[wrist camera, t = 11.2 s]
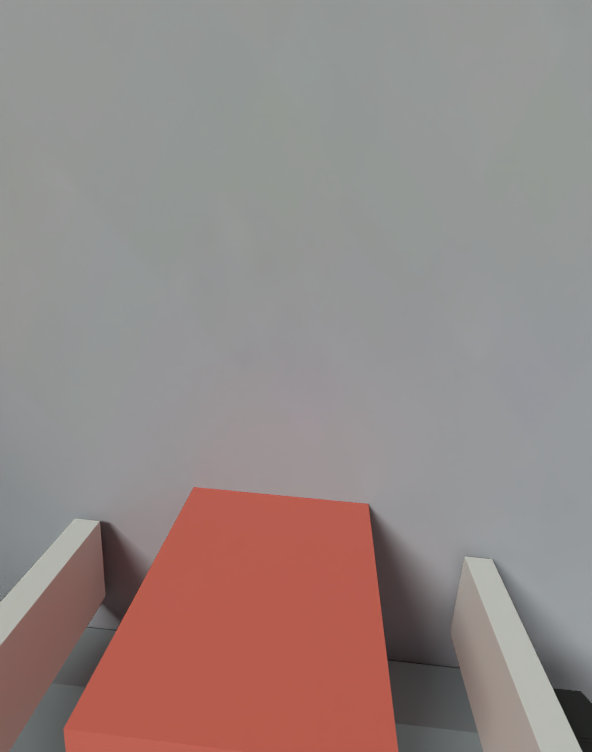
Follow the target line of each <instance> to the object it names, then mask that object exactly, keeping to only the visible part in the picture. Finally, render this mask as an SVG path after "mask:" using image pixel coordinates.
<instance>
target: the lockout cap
mask: <svg viewBox="0 0 592 752" xmlns="http://www.w3.org/2000/svg"><path fill="white" fill-rule="evenodd" d="M63 730H64V739H65V748H66V752H398V744H397V736H396V728H395V719H394V711H393V703H392V695H391V686H390V678H389V670H388V662H387V653H386V645H385V637H384V629H383V620H382V612H381V604H380V595H379V587H378V579H377V571H376V562H375V554H374V546H373V538H372V529H371V521H370V513H369V505H368V504H363V503H353V502H342V501H332V500H321V499H311V498H301V497H290V496H280V495H269V494H259V493H249V492H238V491H228V490H217V489H207V488H196V487H194V488H193V490H192V492H191V493H190V495H189V497H188V499H187V501H186V503H185V505H184V506H183V508H182V510H181V512H180V514H179V516H178V518H177V519H176V521H175V523H174V525H173V527H172V529H171V530H170V532H169V534H168V536H167V538H166V540H165V542H164V543H163V545H162V547H161V549H160V551H159V553H158V555H157V556H156V558H155V560H154V562H153V564H152V566H151V568H150V569H149V571H148V573H147V575H146V577H145V579H144V580H143V582H142V584H141V586H140V588H139V590H138V592H137V593H136V595H135V597H134V599H133V601H132V603H131V605H130V606H129V608H128V610H127V612H126V614H125V616H124V618H123V619H122V621H121V623H120V625H119V627H118V629H117V631H116V632H115V634H114V636H113V638H112V640H111V642H110V643H109V645H108V647H107V649H106V651H105V653H104V655H103V656H102V658H101V660H100V662H99V664H98V666H97V668H96V669H95V671H94V673H93V675H92V677H91V679H90V681H89V682H88V684H87V686H86V688H85V690H84V692H83V693H82V695H81V697H80V699H79V701H78V703H77V705H76V706H75V708H74V710H73V712H72V714H71V716H70V718H69V719H68V721H67V723H66V725H65V727H64V729H63Z"/></svg>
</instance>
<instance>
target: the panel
mask: <svg viewBox="0 0 592 752" xmlns="http://www.w3.org/2000/svg"><path fill="white" fill-rule="evenodd" d="M115 632H116V631H115V630H105V629H96V628H87V627H86V629H85V630H84V632H83V634H82V635H81V637H80V638H79V640H78V642H77V643H76V645H75V646H74V648H73V650H72V651H71V653H70V654H69V656H68V658H67V659H66V661H65V662H64V664H63V666H62V667H61V669H60V671H59V672H58V674H57V675H56V677H55V679H54V680H53V682H52V683H51V685H50V687H49V688H48V690H47V691H46V693H45V695H44V696H43V698H42V699H41V701H40V703H39V704H38V706H37V708H36V709H35V711H34V712H33V714H32V716H31V717H30V719H29V720H28V722H27V724H26V725H25V727H24V728H23V730H22V732H21V733H20V735H19V737H18V738H17V740H16V741H15V743H14V745H13V746H12V748H11V749H10V751H9V752H66V748H65V739H64V730H63V729H64V727H65V725H66V723H67V721H68V719H69V718H70V716H71V714H72V712H73V710H74V708H75V706H76V705H77V703H78V701H79V699H80V697H81V695H82V693H83V692H84V690H85V688H86V686H87V684H88V682H89V681H90V679H91V677H92V675H93V673H94V671H95V669H96V668H97V666H98V664H99V662H100V660H101V658H102V656H103V655H104V653H105V651H106V649H107V647H108V645H109V643H110V642H111V640H112V638H113V636H114V634H115ZM387 662H388V670H389V678H390V686H391V695H392V703H393V711H394V719H395V728H396V736H397V744H398V752H483V749H482V745H481V742H480V738H479V734H478V731H477V727H476V724H475V720H474V717H473V713H472V709H471V706H470V702H469V699H468V695H467V692H466V688H465V685H464V681H463V677H462V674H461V670H460V668H451V667H442V666H433V665H424V664H415V663H405V662H396V661H387Z"/></svg>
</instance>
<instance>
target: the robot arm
mask: <svg viewBox="0 0 592 752" xmlns="http://www.w3.org/2000/svg"><path fill="white" fill-rule="evenodd" d="M105 596H106V593H105V580H104V567H103V554H102V541H101V528H100V521H95V520H85V519H74V520H73V521H72V523H71V524H70V525H69V526H68V527H67V528H66V529H65V530H64V532H63V533H62V534H61V535H60V536H59V537H58V538H57V539H56V541H55V542H54V543H53V544H52V545H51V546H50V547H49V548H48V550H47V551H46V552H45V553H44V554H43V555H42V556H41V557H40V559H39V560H38V561H37V562H36V563H35V564H34V565H33V566H32V567H31V569H30V570H29V571H28V572H27V573H26V574H25V575H24V576H23V578H22V579H21V580H20V581H19V582H18V583H17V584H16V585H15V587H14V588H13V589H12V590H11V591H10V592H9V593H8V594H7V596H6V597H5V598H4V599H3V600H2V601H1V602H0V752H9V751H10V749H11V748H12V746H13V745H14V743H15V741H16V740H17V738H18V737H19V735H20V733H21V732H22V730H23V728H24V727H25V725H26V724H27V722H28V720H29V719H30V717H31V716H32V714H33V712H34V711H35V709H36V708H37V706H38V704H39V703H40V701H41V699H42V698H43V696H44V695H45V693H46V691H47V690H48V688H49V687H50V685H51V683H52V682H53V680H54V679H55V677H56V675H57V674H58V672H59V671H60V669H61V667H62V666H63V664H64V662H65V661H66V659H67V658H68V656H69V654H70V653H71V651H72V650H73V648H74V646H75V645H76V643H77V642H78V640H79V638H80V637H81V635H82V634H83V632H84V630H85V629H86V627H87V625H88V624H89V622H90V621H91V619H92V617H93V616H94V614H95V613H96V611H97V609H98V608H99V606H100V605H101V603H102V601H103V600H104V598H105ZM450 635H451V638H452V642H453V645H454V649H455V653H456V656H457V660H458V663H459V667H460V670H461V674H462V677H463V681H464V685H465V688H466V692H467V695H468V699H469V702H470V706H471V709H472V713H473V717H474V720H475V724H476V727H477V731H478V734H479V738H480V742H481V745H482V749H483V752H592V703H591V702H590V701H589V700H588V699H587V698H586V697H585V696H584V695H583V694H582V692H581V691H572V690H563V689H554V688H552V686H551V684H550V682H549V680H548V677H547V675H546V673H545V671H544V669H543V667H542V665H541V663H540V660H539V658H538V656H537V654H536V652H535V650H534V648H533V645H532V643H531V641H530V639H529V637H528V635H527V633H526V631H525V628H524V626H523V624H522V622H521V620H520V618H519V616H518V614H517V611H516V609H515V607H514V605H513V603H512V601H511V599H510V596H509V594H508V592H507V590H506V588H505V586H504V584H503V582H502V579H501V577H500V575H499V573H498V571H497V569H496V567H495V565H494V562H493V560H492V559H485V558H475V557H464V562H463V568H462V573H461V578H460V583H459V588H458V594H457V599H456V604H455V609H454V614H453V620H452V625H451V630H450Z"/></svg>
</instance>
